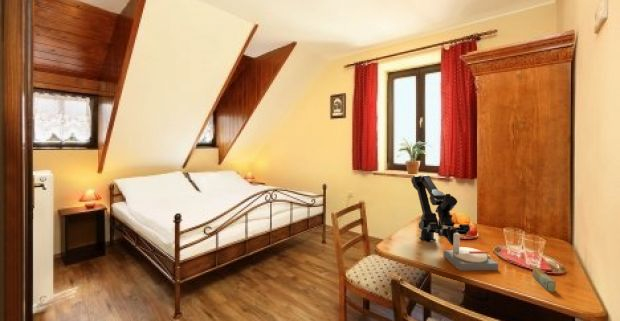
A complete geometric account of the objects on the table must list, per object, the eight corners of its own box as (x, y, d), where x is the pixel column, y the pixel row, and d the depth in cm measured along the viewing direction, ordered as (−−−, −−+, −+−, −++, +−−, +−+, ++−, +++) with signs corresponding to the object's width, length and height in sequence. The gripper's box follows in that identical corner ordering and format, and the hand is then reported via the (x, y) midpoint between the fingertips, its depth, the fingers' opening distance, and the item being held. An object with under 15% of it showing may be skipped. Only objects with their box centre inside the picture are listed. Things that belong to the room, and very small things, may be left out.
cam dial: (477, 249, 139) (478, 228, 138) (497, 262, 125) (498, 238, 124) (445, 250, 138) (446, 229, 137) (461, 263, 124) (462, 239, 123)
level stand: (477, 255, 139) (478, 247, 139) (498, 270, 124) (498, 260, 124) (443, 256, 139) (443, 247, 139) (459, 270, 124) (460, 261, 124)
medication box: (555, 292, 106) (556, 282, 106) (547, 291, 107) (548, 281, 107) (539, 277, 118) (540, 268, 117) (531, 276, 118) (532, 267, 118)
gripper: (457, 224, 147) (466, 253, 137) (421, 222, 148) (427, 251, 138) (465, 213, 139) (476, 243, 129) (427, 211, 140) (434, 241, 130)
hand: (452, 245), depth 132 cm, fingers closed, pressing on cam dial
